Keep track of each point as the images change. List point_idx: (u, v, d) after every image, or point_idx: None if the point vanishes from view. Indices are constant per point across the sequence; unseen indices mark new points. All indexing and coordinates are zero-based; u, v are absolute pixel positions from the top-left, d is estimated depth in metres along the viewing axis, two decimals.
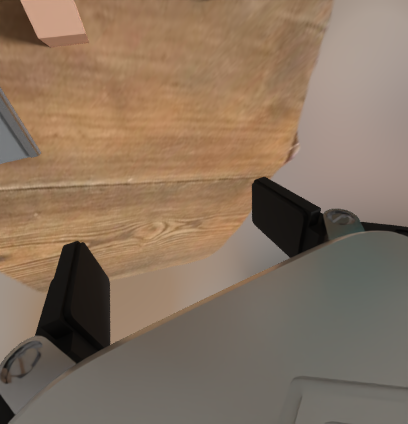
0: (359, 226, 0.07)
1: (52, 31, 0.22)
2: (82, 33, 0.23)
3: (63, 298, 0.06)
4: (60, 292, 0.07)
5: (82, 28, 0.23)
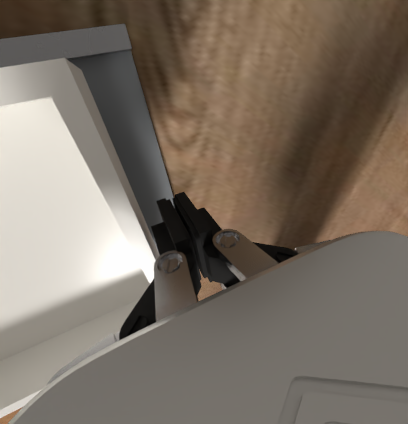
0: (245, 240, 0.08)
1: None
2: None
3: (181, 228, 0.08)
4: (175, 226, 0.09)
5: None
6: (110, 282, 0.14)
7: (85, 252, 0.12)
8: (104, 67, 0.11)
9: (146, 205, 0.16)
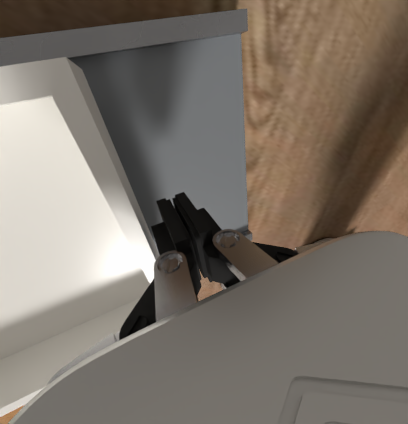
0: (245, 239, 0.08)
1: None
2: None
3: (181, 228, 0.08)
4: (176, 226, 0.09)
5: None
6: (110, 282, 0.14)
7: (85, 251, 0.12)
8: (218, 48, 0.13)
9: (224, 178, 0.18)
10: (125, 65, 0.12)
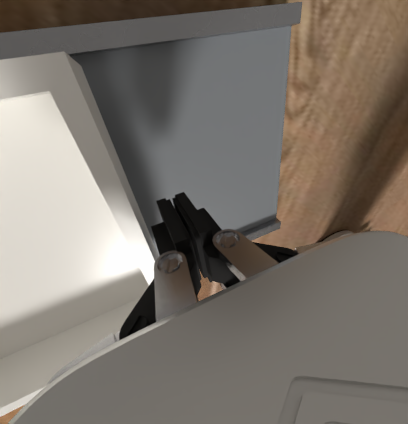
0: (245, 240, 0.08)
1: None
2: None
3: (181, 228, 0.08)
4: (176, 225, 0.09)
5: None
6: (108, 282, 0.14)
7: (83, 251, 0.12)
8: (270, 39, 0.14)
9: (260, 166, 0.19)
10: (189, 53, 0.12)
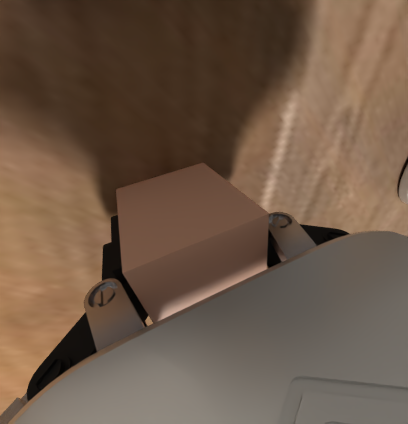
0: (297, 225, 0.08)
1: (154, 297, 0.07)
2: None
3: None
4: None
5: None
6: None
7: None
8: None
9: None
10: None
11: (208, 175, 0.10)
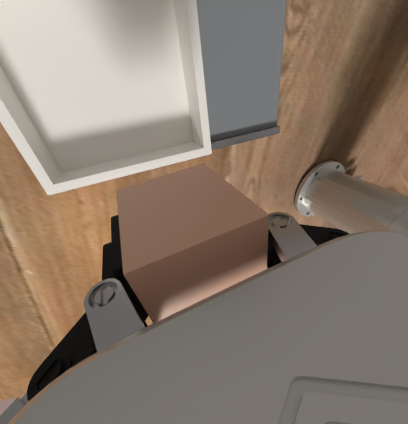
0: (297, 225, 0.08)
1: (155, 298, 0.07)
2: None
3: None
4: None
5: None
6: (163, 119, 0.21)
7: (153, 82, 0.19)
8: None
9: (266, 69, 0.26)
10: None
11: (208, 176, 0.10)
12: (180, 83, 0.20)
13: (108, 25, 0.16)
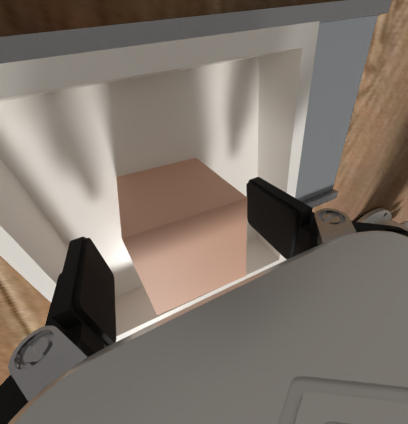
0: (350, 225, 0.07)
1: (147, 265, 0.08)
2: None
3: (72, 290, 0.07)
4: (69, 284, 0.07)
5: (165, 309, 0.10)
6: None
7: None
8: (361, 26, 0.17)
9: (331, 138, 0.22)
10: None
11: (199, 168, 0.11)
12: None
13: (180, 147, 0.12)
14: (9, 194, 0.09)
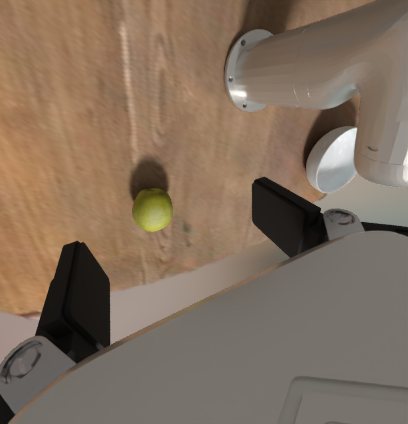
0: (359, 226, 0.07)
1: None
2: None
3: (63, 298, 0.06)
4: (60, 292, 0.07)
5: None
6: None
7: None
8: None
9: None
10: None
11: None
12: None
13: None
14: None
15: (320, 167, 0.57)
